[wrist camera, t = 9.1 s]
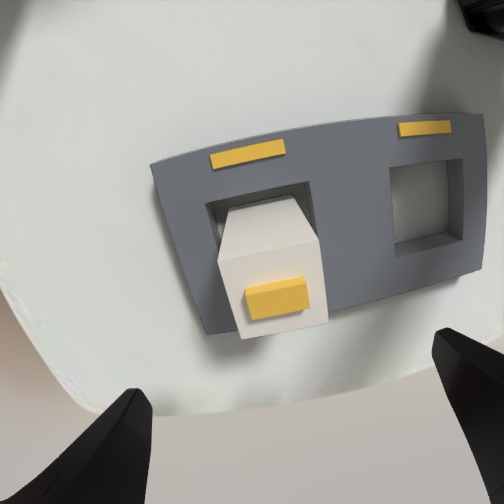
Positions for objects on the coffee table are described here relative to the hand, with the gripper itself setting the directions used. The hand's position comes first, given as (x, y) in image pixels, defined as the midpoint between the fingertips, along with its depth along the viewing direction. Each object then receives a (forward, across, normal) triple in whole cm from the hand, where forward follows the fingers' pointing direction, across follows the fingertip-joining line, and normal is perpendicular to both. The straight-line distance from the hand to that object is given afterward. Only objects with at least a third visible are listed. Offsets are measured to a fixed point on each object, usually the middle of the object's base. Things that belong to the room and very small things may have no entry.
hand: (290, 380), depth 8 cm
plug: (+13, 0, 0) cm, 13 cm away
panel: (+13, -6, 0) cm, 14 cm away
